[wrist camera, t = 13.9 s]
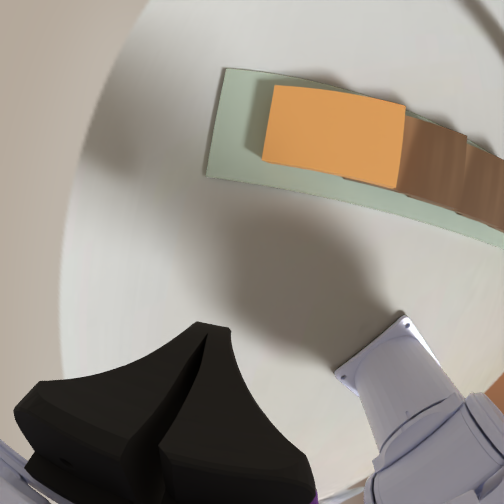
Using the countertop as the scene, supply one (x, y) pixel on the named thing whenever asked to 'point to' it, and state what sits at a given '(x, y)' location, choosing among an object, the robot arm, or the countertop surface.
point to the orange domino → (335, 134)
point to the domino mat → (301, 180)
